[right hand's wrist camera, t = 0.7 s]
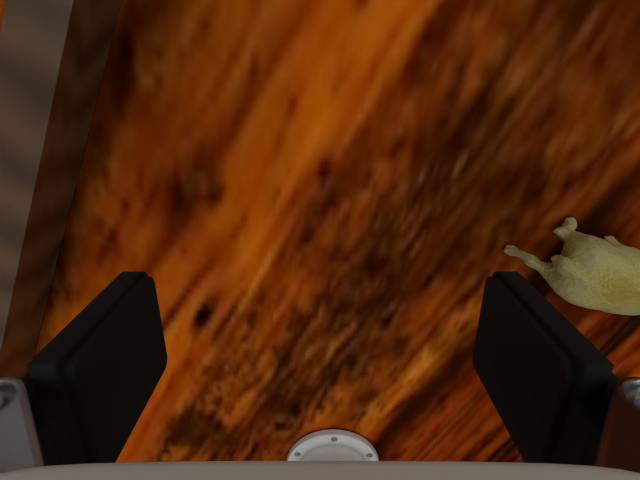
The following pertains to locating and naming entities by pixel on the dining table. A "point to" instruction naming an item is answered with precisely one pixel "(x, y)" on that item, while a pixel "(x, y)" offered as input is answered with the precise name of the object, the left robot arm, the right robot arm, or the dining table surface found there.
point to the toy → (590, 271)
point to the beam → (42, 149)
